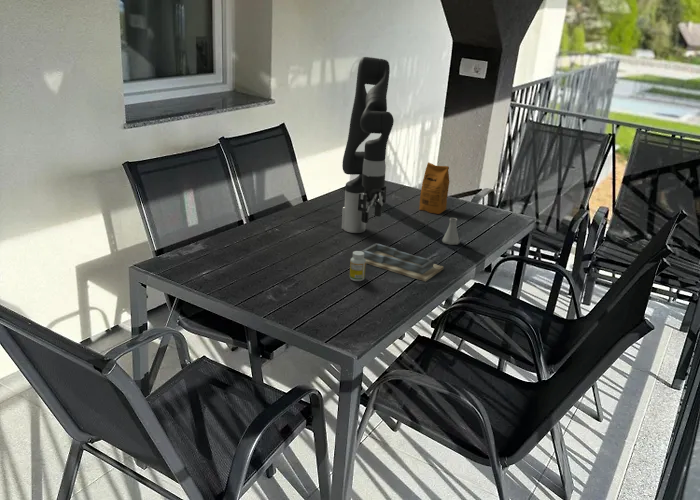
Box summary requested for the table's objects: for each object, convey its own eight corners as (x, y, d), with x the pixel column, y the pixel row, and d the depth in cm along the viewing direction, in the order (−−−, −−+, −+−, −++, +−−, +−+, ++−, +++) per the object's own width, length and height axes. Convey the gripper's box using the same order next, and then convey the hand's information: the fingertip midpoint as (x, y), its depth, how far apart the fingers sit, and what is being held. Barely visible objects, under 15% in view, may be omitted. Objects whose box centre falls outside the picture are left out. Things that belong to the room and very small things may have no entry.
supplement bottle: (358, 283, 215) (359, 257, 211) (346, 278, 218) (347, 252, 214) (367, 278, 219) (369, 253, 215) (356, 273, 222) (357, 248, 218)
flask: (459, 246, 251) (462, 222, 248) (441, 244, 253) (443, 220, 249) (460, 240, 258) (462, 217, 254) (442, 238, 259) (444, 215, 255)
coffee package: (426, 204, 300) (430, 159, 292) (449, 210, 293) (454, 164, 285) (415, 209, 292) (419, 163, 284) (438, 215, 286) (443, 168, 277)
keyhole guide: (354, 259, 234) (354, 251, 232) (374, 248, 244) (374, 240, 243) (425, 281, 218) (426, 272, 217) (443, 269, 229) (444, 260, 228)
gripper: (375, 166, 214) (372, 212, 220) (352, 174, 202) (350, 222, 208) (394, 170, 210) (391, 216, 216) (372, 178, 199) (369, 226, 205)
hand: (371, 219), depth 212 cm, fingers open, 8 cm apart
